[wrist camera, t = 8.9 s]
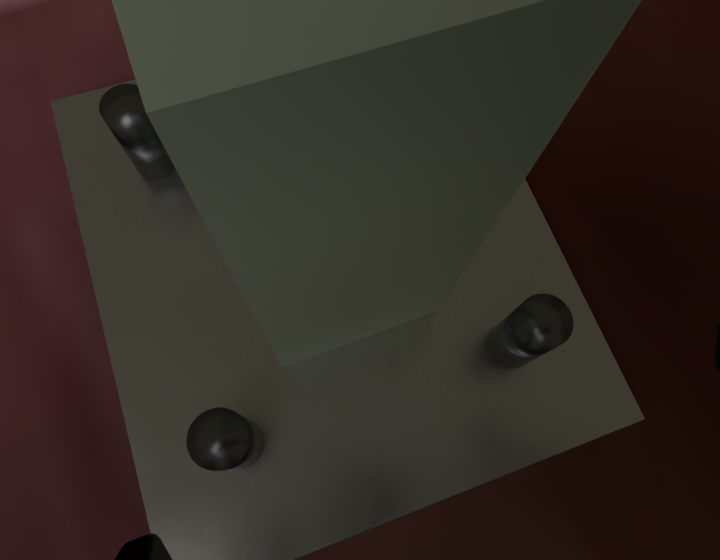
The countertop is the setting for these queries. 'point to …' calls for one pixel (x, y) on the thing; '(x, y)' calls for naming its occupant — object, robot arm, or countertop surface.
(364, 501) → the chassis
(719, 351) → the robot arm
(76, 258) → the countertop surface
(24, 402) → the countertop surface
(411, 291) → the plate
